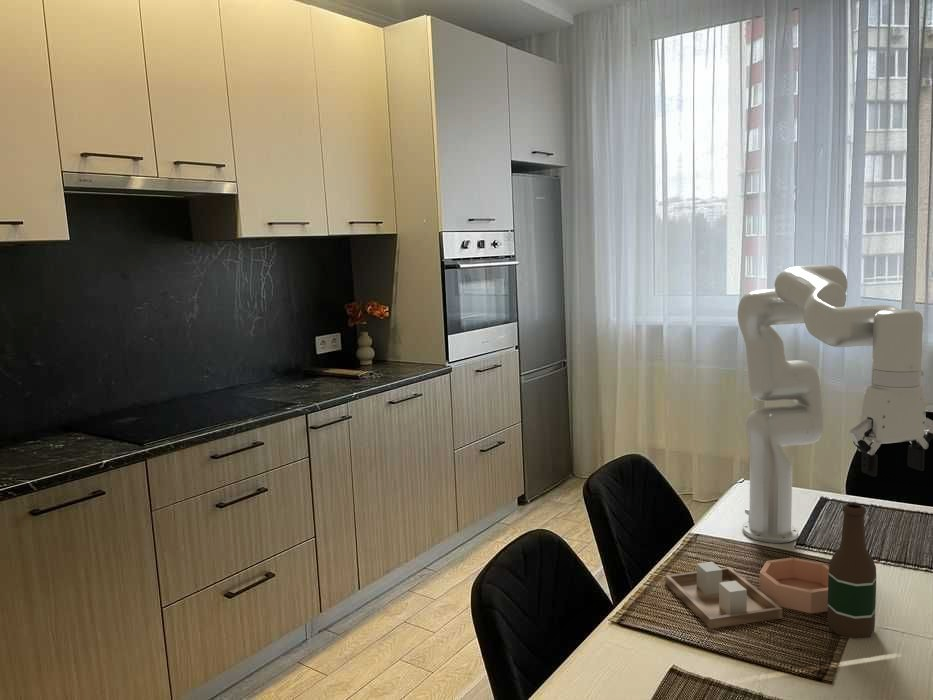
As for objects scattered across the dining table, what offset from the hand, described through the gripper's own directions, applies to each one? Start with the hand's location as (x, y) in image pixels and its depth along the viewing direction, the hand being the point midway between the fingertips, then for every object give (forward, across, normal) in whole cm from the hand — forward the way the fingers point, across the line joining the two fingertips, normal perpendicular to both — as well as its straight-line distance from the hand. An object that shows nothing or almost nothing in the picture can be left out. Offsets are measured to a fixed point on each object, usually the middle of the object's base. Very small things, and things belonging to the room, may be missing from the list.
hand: (892, 471), depth 131 cm
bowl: (+29, +9, -13) cm, 33 cm away
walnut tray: (+29, +25, -15) cm, 41 cm away
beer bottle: (+29, +9, +1) cm, 31 cm away
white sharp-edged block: (+28, +25, -11) cm, 40 cm away
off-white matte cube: (+28, +25, -20) cm, 43 cm away
